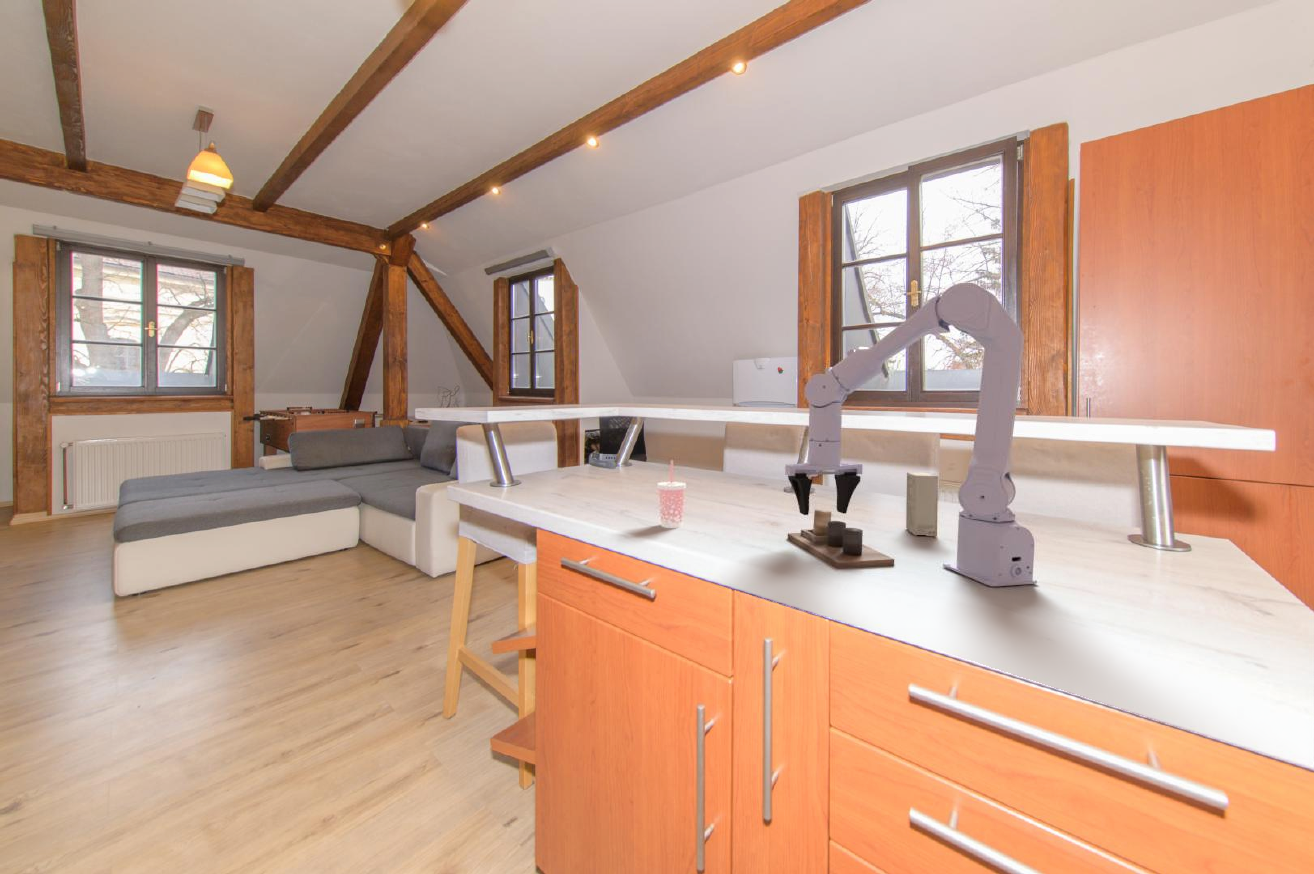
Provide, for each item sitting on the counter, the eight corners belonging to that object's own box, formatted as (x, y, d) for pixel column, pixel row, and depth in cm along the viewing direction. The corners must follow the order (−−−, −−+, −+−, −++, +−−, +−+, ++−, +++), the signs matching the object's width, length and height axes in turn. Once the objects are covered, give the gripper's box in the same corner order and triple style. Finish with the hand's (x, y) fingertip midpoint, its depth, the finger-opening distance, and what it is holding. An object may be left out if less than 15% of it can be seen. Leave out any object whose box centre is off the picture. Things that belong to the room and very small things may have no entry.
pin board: (894, 565, 81) (895, 534, 80) (837, 568, 79) (838, 537, 78) (834, 536, 98) (835, 511, 98) (787, 538, 96) (788, 513, 96)
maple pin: (832, 539, 92) (834, 512, 92) (818, 539, 92) (820, 512, 91) (823, 534, 95) (825, 509, 95) (809, 535, 94) (811, 509, 94)
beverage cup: (686, 529, 103) (686, 462, 103) (656, 528, 104) (657, 461, 103) (685, 522, 110) (685, 458, 109) (657, 521, 110) (657, 458, 109)
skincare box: (937, 537, 98) (940, 476, 97) (913, 536, 99) (915, 475, 98) (927, 529, 104) (929, 472, 104) (904, 528, 105) (906, 471, 104)
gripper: (848, 438, 97) (846, 507, 98) (778, 439, 95) (777, 510, 96) (870, 441, 91) (867, 515, 91) (795, 442, 88) (794, 518, 89)
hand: (823, 513), depth 93 cm, fingers open, 7 cm apart
